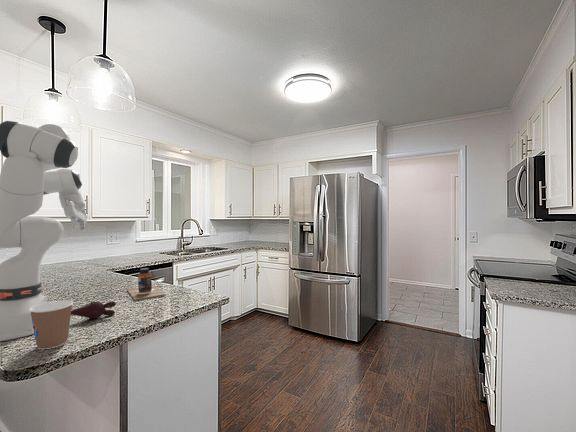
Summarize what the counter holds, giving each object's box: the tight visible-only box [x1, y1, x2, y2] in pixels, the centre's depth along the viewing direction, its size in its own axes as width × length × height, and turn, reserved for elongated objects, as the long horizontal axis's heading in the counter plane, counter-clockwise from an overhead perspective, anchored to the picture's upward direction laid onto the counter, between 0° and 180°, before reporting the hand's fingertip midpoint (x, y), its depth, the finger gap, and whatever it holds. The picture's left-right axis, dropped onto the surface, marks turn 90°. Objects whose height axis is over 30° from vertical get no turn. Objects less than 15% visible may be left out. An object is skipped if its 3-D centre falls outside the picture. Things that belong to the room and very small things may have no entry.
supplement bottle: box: [137, 267, 153, 293], centre depth 141 cm, size 6×6×11 cm
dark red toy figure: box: [71, 301, 117, 321], centre depth 107 cm, size 7×7×15 cm
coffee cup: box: [29, 299, 74, 351], centre depth 86 cm, size 10×10×12 cm
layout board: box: [126, 284, 166, 302], centre depth 141 cm, size 22×13×1 cm, turn 38°
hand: (80, 228), depth 136 cm, fingers open, 8 cm apart
